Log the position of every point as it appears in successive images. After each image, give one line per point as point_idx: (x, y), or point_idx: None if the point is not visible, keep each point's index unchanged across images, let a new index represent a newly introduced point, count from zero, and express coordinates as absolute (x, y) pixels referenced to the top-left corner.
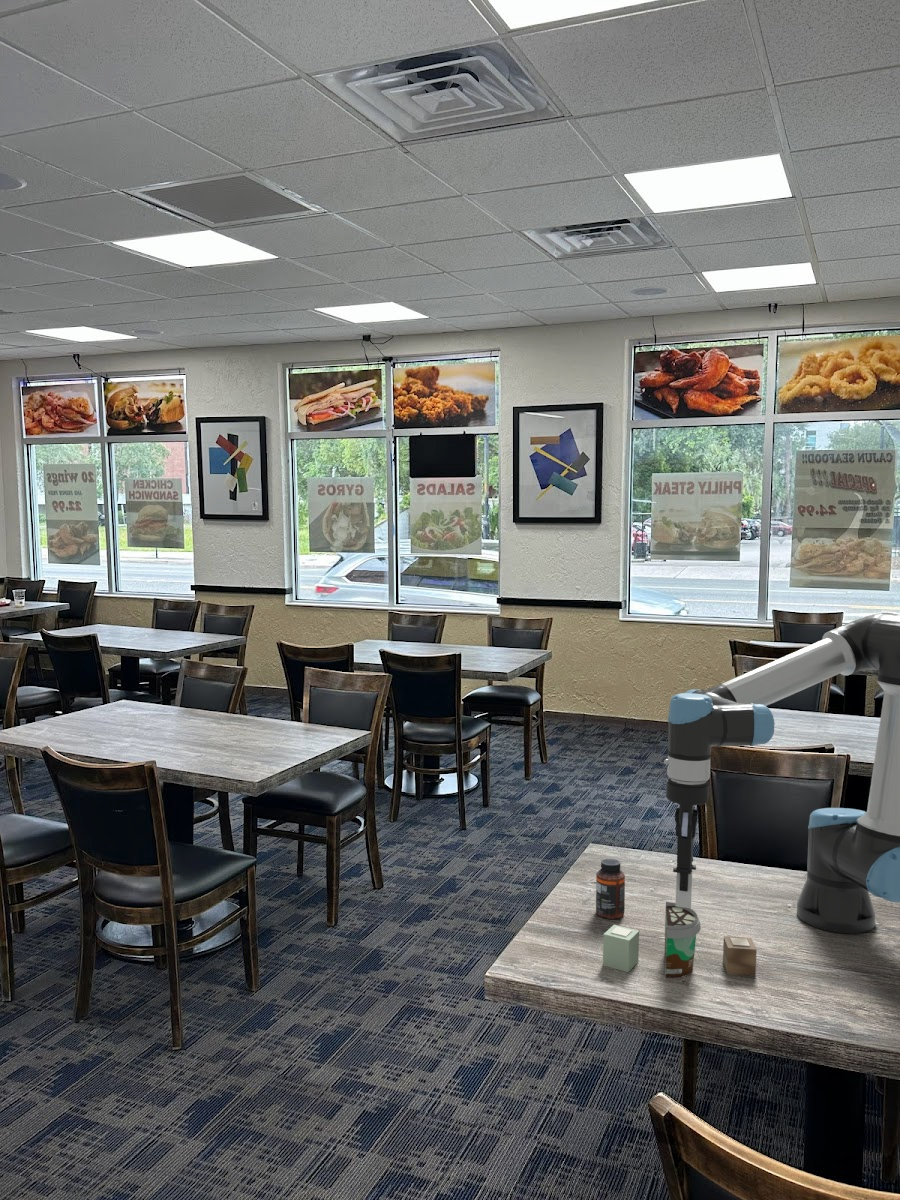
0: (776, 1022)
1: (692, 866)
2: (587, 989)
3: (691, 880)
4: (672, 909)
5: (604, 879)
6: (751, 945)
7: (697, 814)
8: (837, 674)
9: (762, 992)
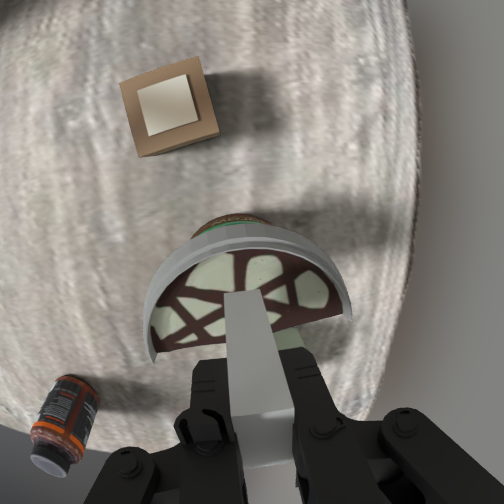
0: (390, 46)
1: (220, 441)
2: (374, 358)
3: (283, 373)
4: (169, 334)
5: (81, 454)
6: (173, 72)
7: None
8: None
9: (282, 57)
